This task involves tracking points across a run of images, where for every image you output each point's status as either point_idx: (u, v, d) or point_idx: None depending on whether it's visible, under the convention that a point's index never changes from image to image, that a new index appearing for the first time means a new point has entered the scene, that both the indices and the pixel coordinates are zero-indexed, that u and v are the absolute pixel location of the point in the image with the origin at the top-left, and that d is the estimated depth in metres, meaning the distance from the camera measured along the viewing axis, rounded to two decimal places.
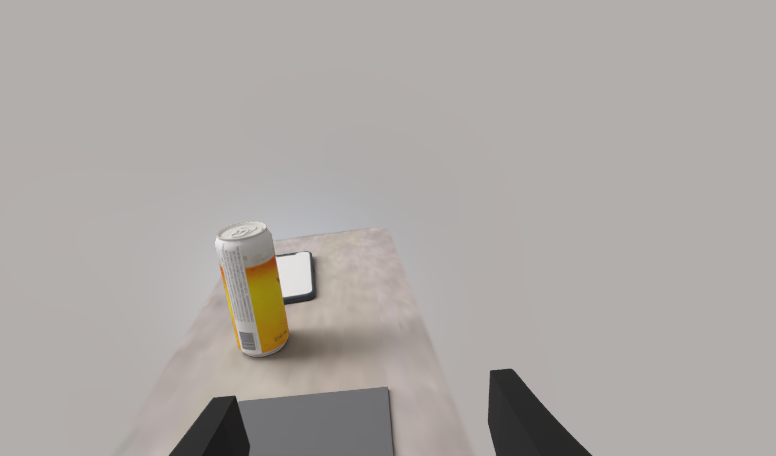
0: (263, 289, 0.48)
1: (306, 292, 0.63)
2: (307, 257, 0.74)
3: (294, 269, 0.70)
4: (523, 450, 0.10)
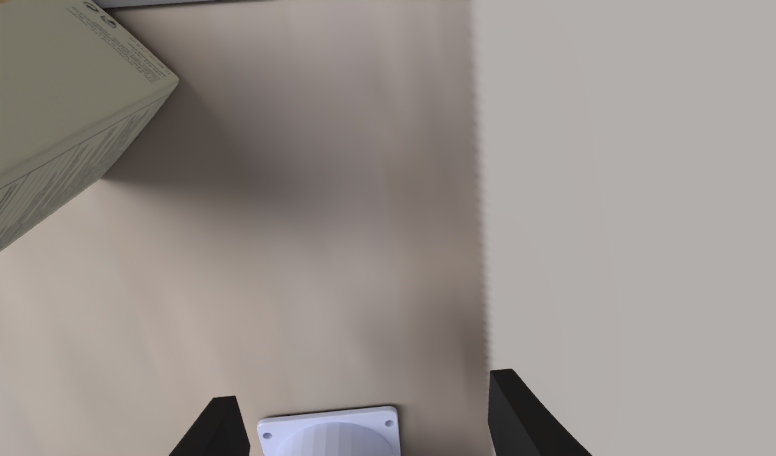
0: None
1: None
2: None
3: None
4: (523, 450, 0.10)
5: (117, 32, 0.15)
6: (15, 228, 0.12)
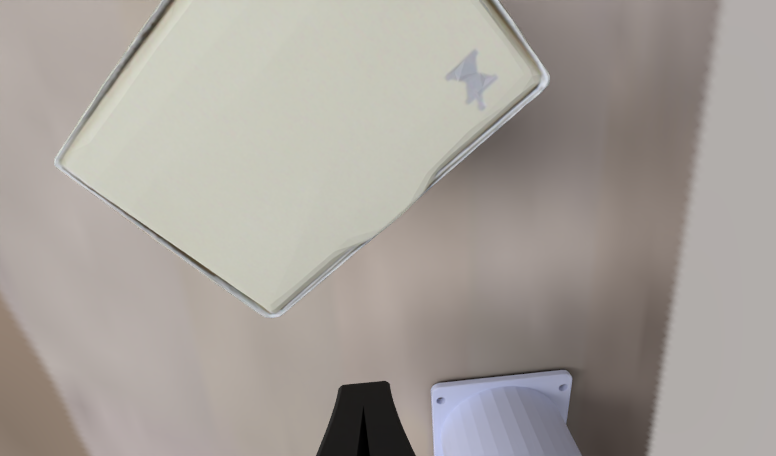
0: None
1: None
2: None
3: None
4: None
5: None
6: None
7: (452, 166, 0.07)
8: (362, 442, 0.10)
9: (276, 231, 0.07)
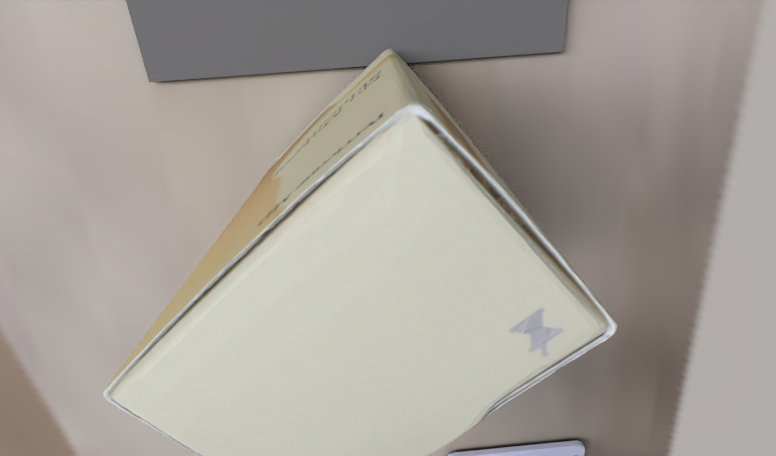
0: None
1: None
2: None
3: None
4: None
5: None
6: None
7: (509, 395, 0.06)
8: None
9: (324, 454, 0.07)
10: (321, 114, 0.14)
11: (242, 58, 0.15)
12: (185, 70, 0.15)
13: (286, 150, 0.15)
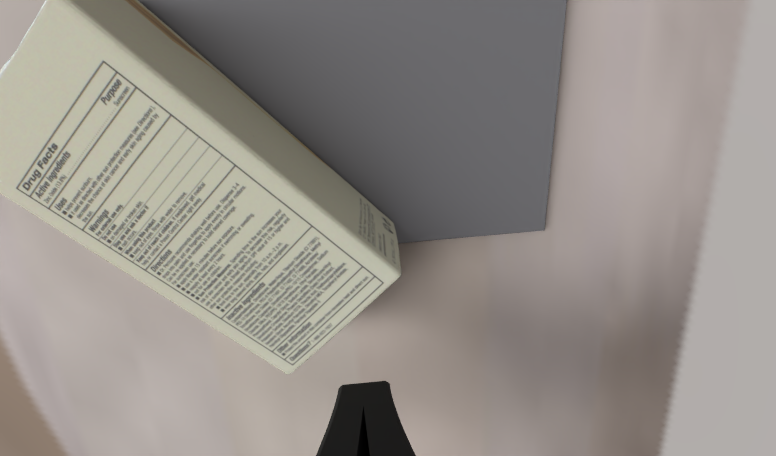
0: None
1: None
2: None
3: None
4: None
5: (384, 229, 0.16)
6: (161, 244, 0.13)
7: (21, 49, 0.11)
8: (362, 442, 0.10)
9: None
10: None
11: None
12: None
13: None
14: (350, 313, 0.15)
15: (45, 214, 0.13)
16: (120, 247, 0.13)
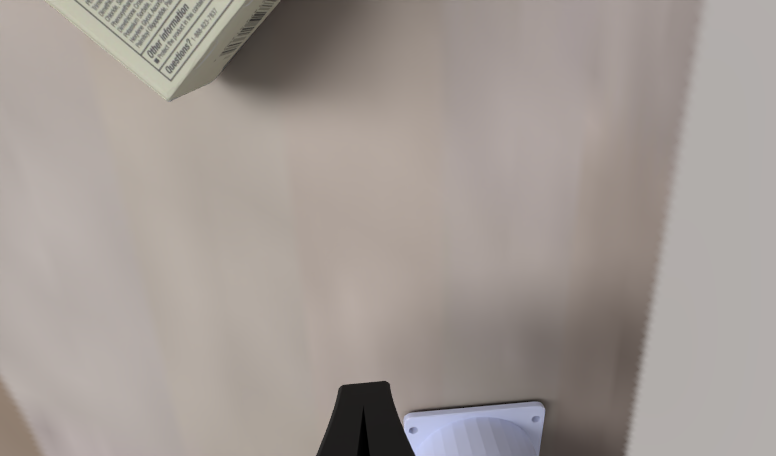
0: None
1: None
2: None
3: None
4: None
5: None
6: None
7: None
8: (362, 442, 0.10)
9: None
10: None
11: None
12: None
13: None
14: None
15: None
16: None
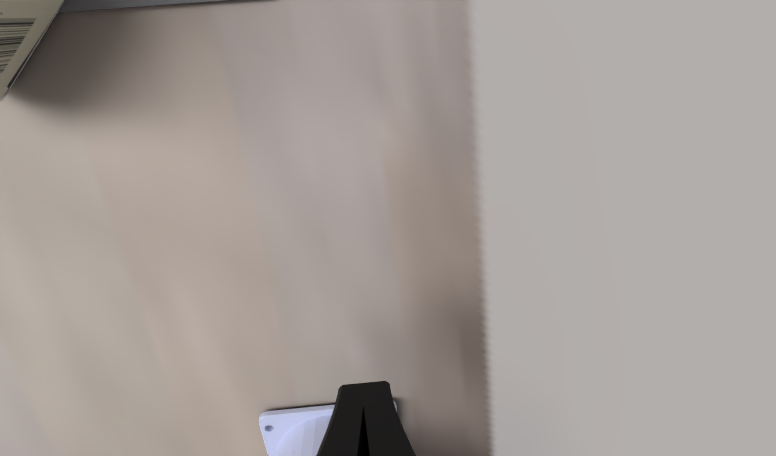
0: None
1: None
2: None
3: None
4: None
5: None
6: None
7: None
8: (362, 442, 0.10)
9: None
10: None
11: None
12: None
13: None
14: None
15: None
16: None
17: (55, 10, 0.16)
